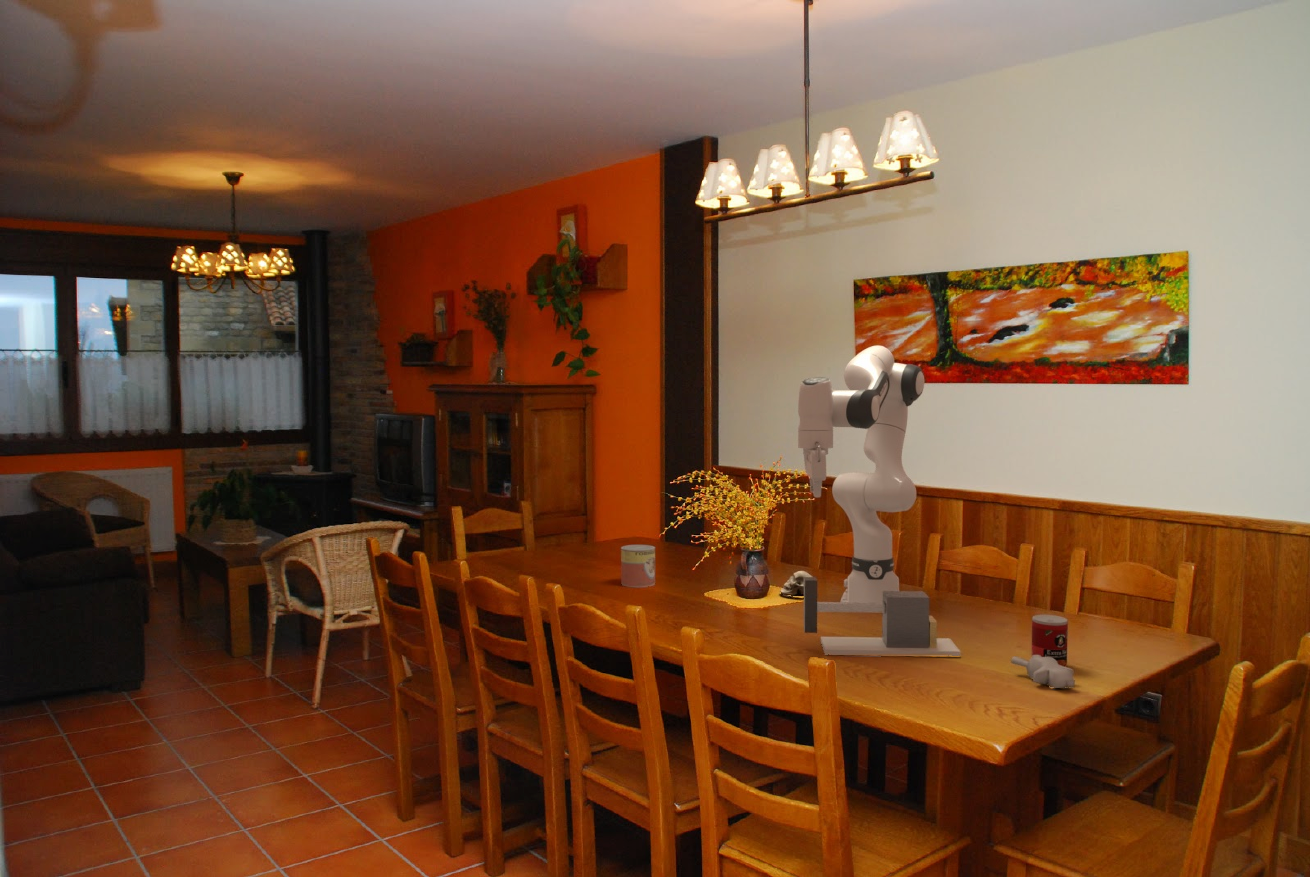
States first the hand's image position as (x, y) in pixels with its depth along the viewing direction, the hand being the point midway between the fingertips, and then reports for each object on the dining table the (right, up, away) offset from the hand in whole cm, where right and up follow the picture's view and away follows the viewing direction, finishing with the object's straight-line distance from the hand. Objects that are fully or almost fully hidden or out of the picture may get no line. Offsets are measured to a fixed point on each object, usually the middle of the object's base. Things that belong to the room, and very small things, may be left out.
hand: (815, 495), depth 253 cm
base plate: (+16, -38, -10) cm, 42 cm away
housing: (+20, -38, -10) cm, 44 cm away
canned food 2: (+50, -38, -24) cm, 68 cm away
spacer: (+26, -36, -11) cm, 46 cm away
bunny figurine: (+45, -39, -36) cm, 69 cm away
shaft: (+10, -33, -10) cm, 36 cm away
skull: (+3, -34, +52) cm, 62 cm away
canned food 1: (-47, -33, +71) cm, 91 cm away
